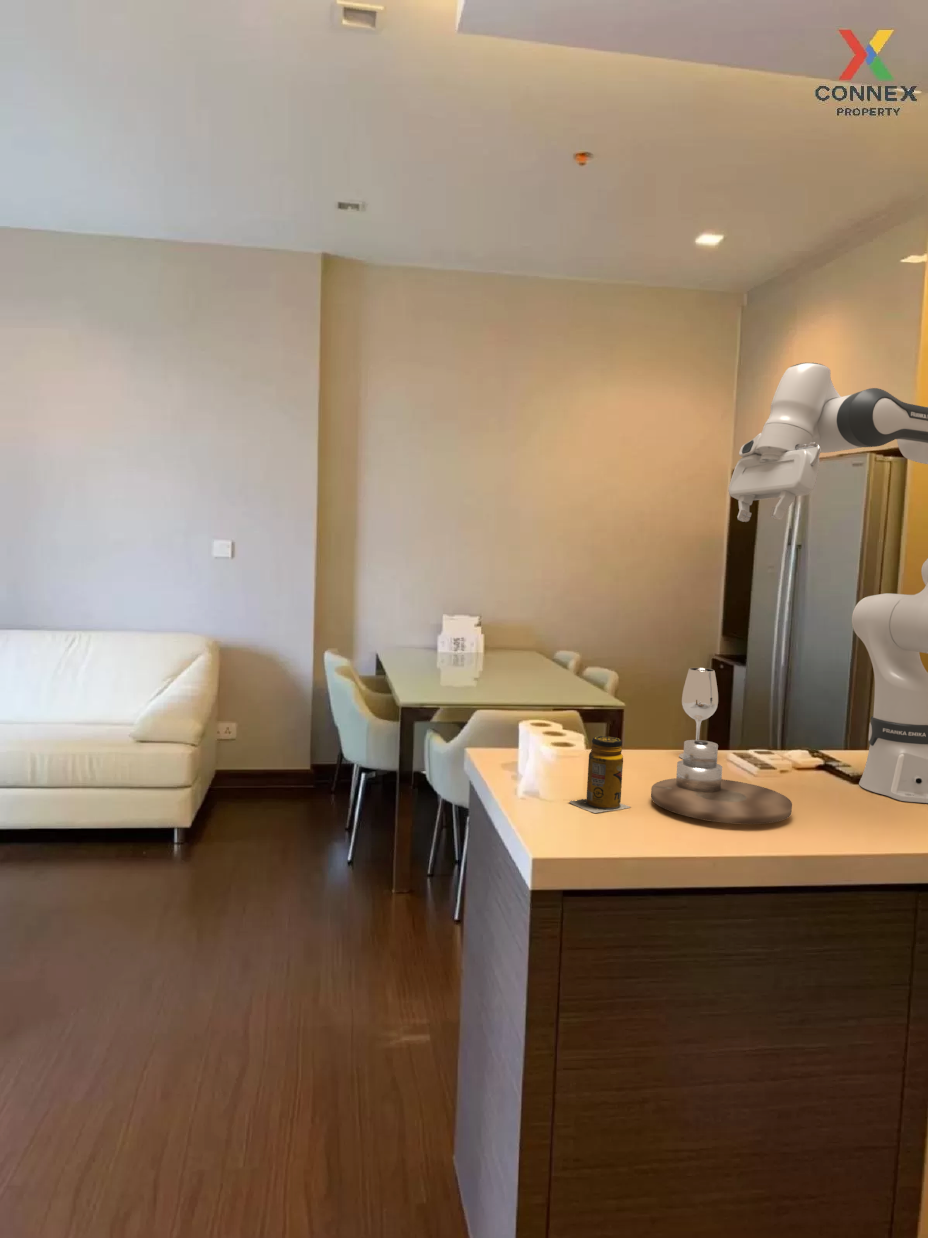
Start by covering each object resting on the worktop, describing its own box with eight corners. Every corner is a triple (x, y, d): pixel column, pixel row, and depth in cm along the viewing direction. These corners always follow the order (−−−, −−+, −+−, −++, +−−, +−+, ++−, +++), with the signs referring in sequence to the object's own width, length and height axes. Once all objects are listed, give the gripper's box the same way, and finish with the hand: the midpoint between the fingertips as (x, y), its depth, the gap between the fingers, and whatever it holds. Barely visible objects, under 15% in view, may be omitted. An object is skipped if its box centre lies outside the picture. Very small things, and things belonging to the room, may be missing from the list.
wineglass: (671, 754, 200) (676, 667, 198) (701, 753, 202) (707, 667, 200) (690, 762, 192) (696, 672, 191) (721, 761, 194) (727, 671, 193)
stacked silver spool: (722, 784, 164) (725, 740, 164) (719, 794, 157) (722, 748, 156) (678, 778, 167) (681, 735, 167) (673, 788, 160) (676, 743, 159)
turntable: (791, 795, 164) (792, 787, 164) (791, 832, 141) (792, 823, 141) (660, 779, 172) (661, 771, 172) (641, 811, 150) (641, 802, 150)
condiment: (630, 808, 156) (634, 741, 155) (594, 814, 151) (598, 745, 150) (602, 797, 162) (606, 733, 161) (567, 803, 157) (570, 736, 156)
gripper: (836, 448, 151) (811, 523, 150) (761, 460, 170) (738, 527, 170) (808, 433, 149) (783, 510, 148) (735, 447, 168) (712, 515, 168)
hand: (758, 519), depth 159 cm, fingers open, 8 cm apart
